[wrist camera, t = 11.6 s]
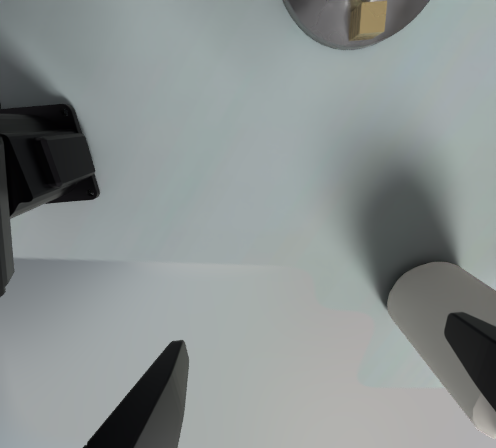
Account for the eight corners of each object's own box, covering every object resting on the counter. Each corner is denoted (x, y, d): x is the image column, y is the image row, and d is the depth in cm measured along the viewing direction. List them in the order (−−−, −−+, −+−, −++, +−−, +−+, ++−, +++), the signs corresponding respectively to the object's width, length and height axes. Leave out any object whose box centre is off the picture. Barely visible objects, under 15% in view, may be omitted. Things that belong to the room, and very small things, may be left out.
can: (370, 318, 26) (473, 471, 15) (399, 251, 23) (553, 376, 12) (440, 325, 26) (588, 476, 15) (476, 262, 24) (688, 389, 13)
